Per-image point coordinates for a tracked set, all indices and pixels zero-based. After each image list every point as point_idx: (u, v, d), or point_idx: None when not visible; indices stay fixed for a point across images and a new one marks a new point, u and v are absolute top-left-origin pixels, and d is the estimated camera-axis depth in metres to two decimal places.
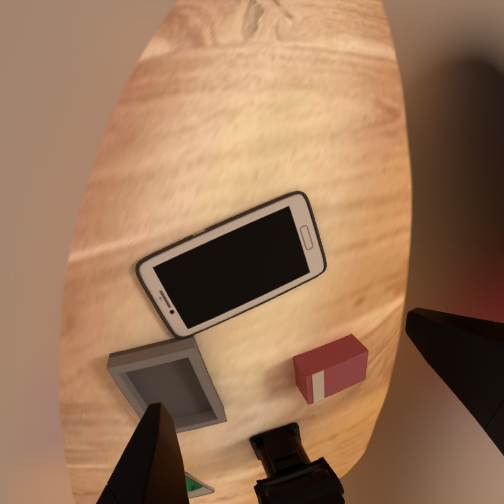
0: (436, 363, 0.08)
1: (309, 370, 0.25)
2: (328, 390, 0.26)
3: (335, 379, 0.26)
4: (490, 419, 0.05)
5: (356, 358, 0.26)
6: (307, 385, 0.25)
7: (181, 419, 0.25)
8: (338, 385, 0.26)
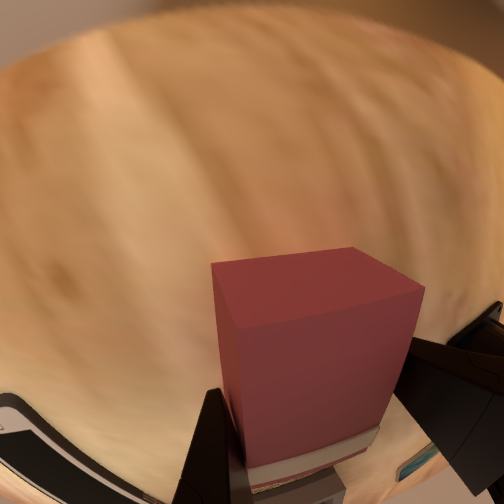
0: (397, 389, 0.07)
1: None
2: (357, 428, 0.07)
3: (320, 428, 0.06)
4: (454, 453, 0.05)
5: (258, 385, 0.05)
6: (287, 478, 0.07)
7: None
8: (365, 403, 0.07)
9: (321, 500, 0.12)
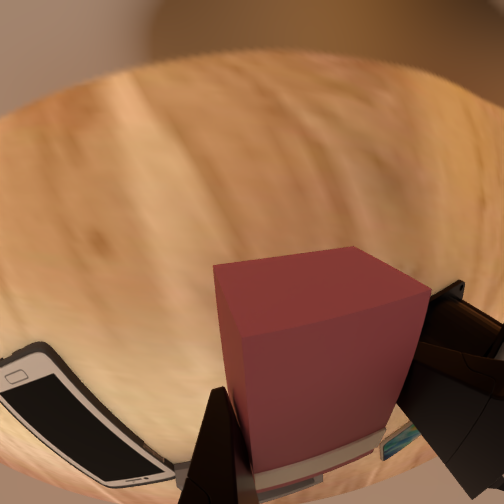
0: None
1: None
2: (363, 430, 0.07)
3: (327, 432, 0.06)
4: (451, 456, 0.05)
5: (263, 392, 0.05)
6: (293, 482, 0.07)
7: None
8: (371, 406, 0.06)
9: None
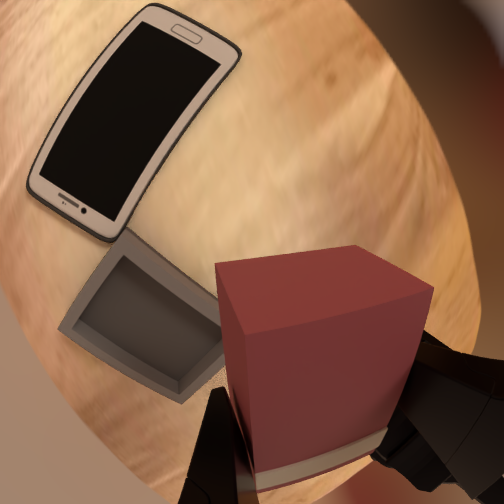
0: None
1: None
2: (365, 430, 0.07)
3: (329, 431, 0.06)
4: (451, 456, 0.05)
5: (266, 390, 0.05)
6: (294, 481, 0.07)
7: (199, 364, 0.19)
8: (373, 405, 0.06)
9: None
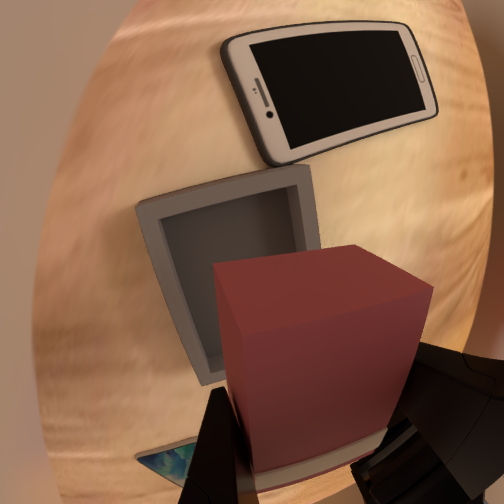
0: None
1: None
2: (364, 430, 0.07)
3: (328, 432, 0.06)
4: (451, 456, 0.05)
5: (264, 391, 0.05)
6: (294, 482, 0.07)
7: None
8: (372, 405, 0.06)
9: None
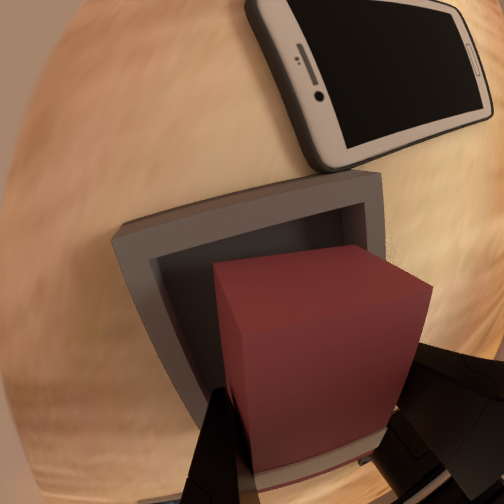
0: None
1: None
2: (364, 430, 0.07)
3: (328, 431, 0.06)
4: (449, 457, 0.05)
5: (264, 390, 0.05)
6: (293, 482, 0.07)
7: None
8: (372, 405, 0.06)
9: None
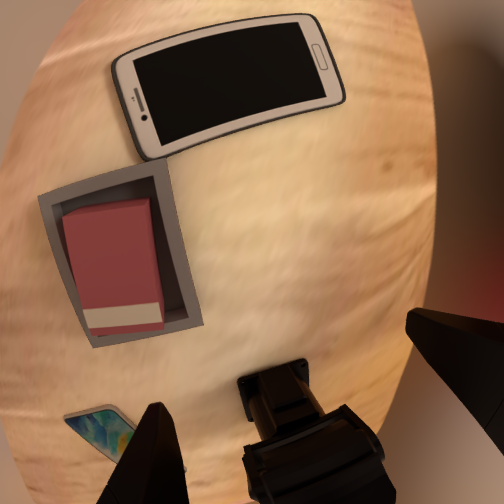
0: (436, 363, 0.08)
1: None
2: (138, 296, 0.14)
3: (111, 284, 0.14)
4: (490, 419, 0.05)
5: (72, 244, 0.12)
6: (111, 333, 0.14)
7: None
8: (133, 273, 0.14)
9: (194, 304, 0.17)
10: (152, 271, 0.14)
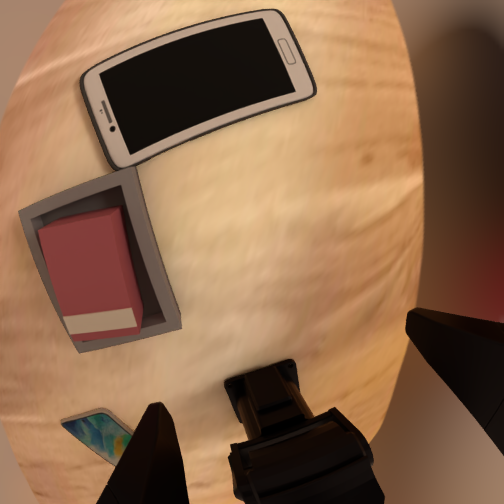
0: (436, 363, 0.08)
1: None
2: (112, 302, 0.14)
3: (86, 292, 0.14)
4: (490, 419, 0.05)
5: (49, 255, 0.12)
6: (91, 338, 0.14)
7: None
8: (105, 281, 0.14)
9: (170, 308, 0.17)
10: (123, 278, 0.14)
